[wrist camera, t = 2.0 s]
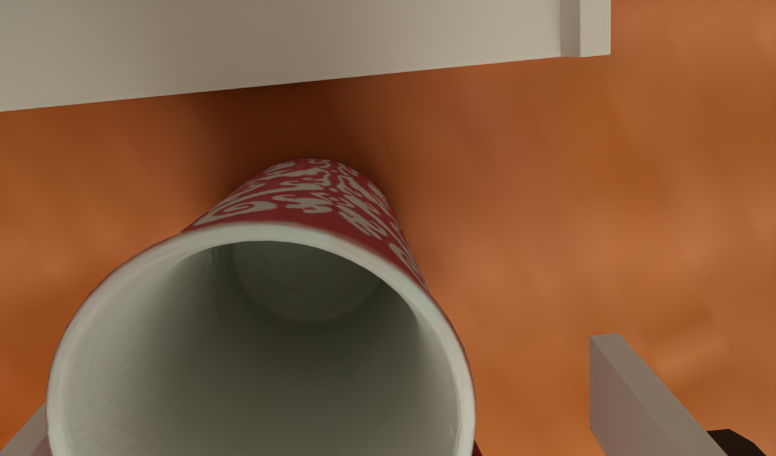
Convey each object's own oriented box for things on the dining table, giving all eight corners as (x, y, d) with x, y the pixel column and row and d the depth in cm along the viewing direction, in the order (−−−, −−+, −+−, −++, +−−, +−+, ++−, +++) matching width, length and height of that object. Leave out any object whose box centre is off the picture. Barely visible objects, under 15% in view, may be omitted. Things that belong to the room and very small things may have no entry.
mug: (151, 233, 25) (-57, 425, 12) (315, 84, 24) (272, 125, 11) (357, 430, 29) (361, 748, 16) (512, 307, 27) (657, 542, 14)
